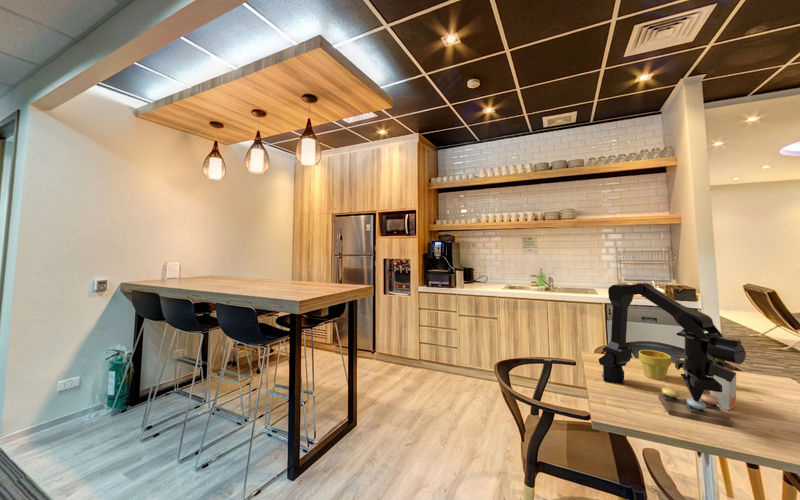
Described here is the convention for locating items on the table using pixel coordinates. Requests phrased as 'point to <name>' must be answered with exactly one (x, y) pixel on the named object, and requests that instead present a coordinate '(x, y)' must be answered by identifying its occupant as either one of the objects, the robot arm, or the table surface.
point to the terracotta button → (709, 399)
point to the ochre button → (670, 392)
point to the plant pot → (655, 364)
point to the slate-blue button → (696, 404)
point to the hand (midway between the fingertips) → (696, 400)
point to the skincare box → (726, 393)
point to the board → (694, 411)
